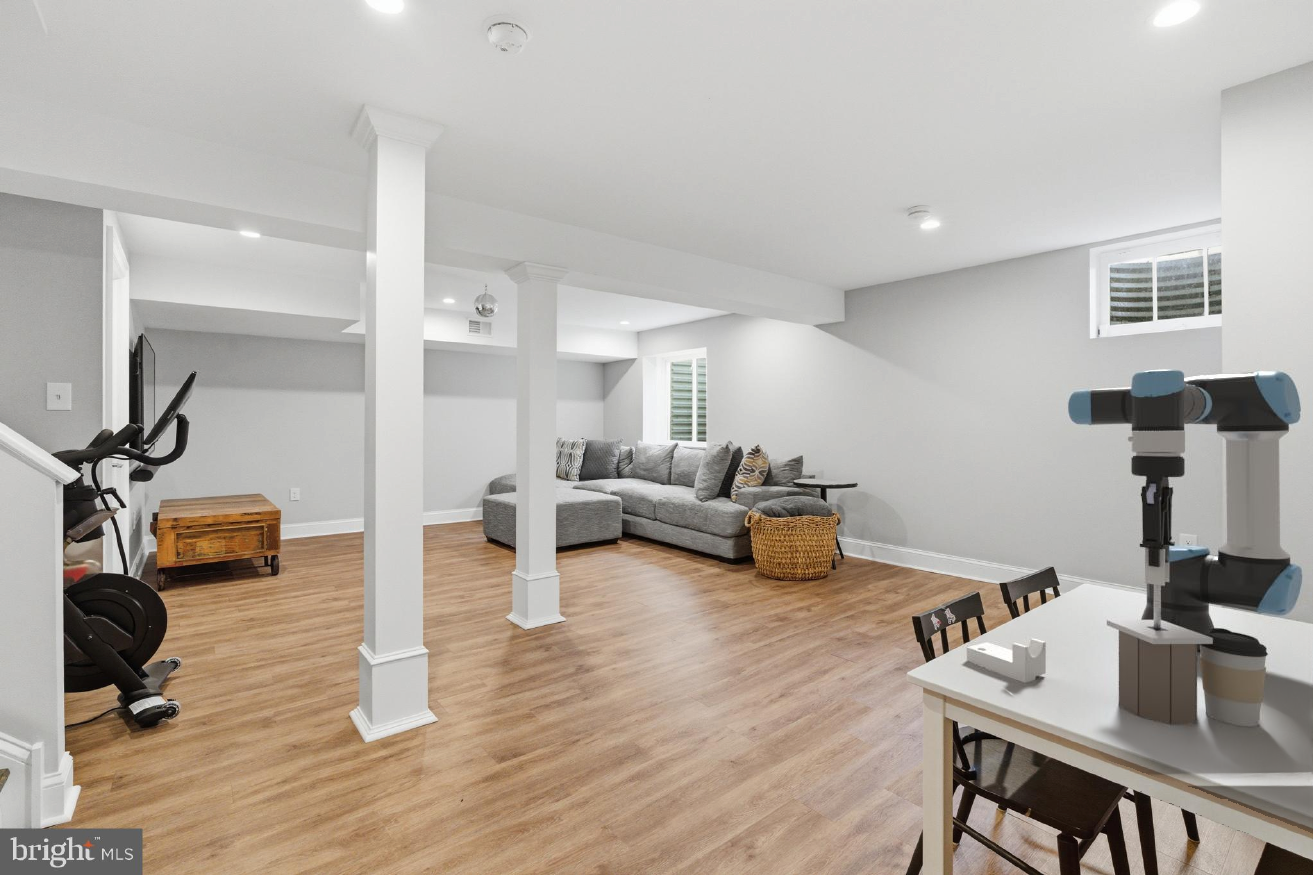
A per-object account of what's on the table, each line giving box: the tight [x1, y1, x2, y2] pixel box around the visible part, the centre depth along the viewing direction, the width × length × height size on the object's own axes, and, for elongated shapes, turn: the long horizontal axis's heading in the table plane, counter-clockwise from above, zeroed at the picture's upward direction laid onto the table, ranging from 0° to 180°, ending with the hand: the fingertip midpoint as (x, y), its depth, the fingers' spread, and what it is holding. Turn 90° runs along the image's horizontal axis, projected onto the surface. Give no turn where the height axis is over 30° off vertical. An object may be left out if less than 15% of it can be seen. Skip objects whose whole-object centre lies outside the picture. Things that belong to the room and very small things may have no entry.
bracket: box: [966, 637, 1047, 684], centre depth 130 cm, size 13×7×8 cm, turn 27°
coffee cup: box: [1199, 627, 1269, 727], centre depth 108 cm, size 9×9×15 cm
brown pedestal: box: [1106, 619, 1213, 725], centre depth 111 cm, size 11×11×15 cm
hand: (1157, 582), depth 111 cm, fingers closed on plunger, 3 cm apart
